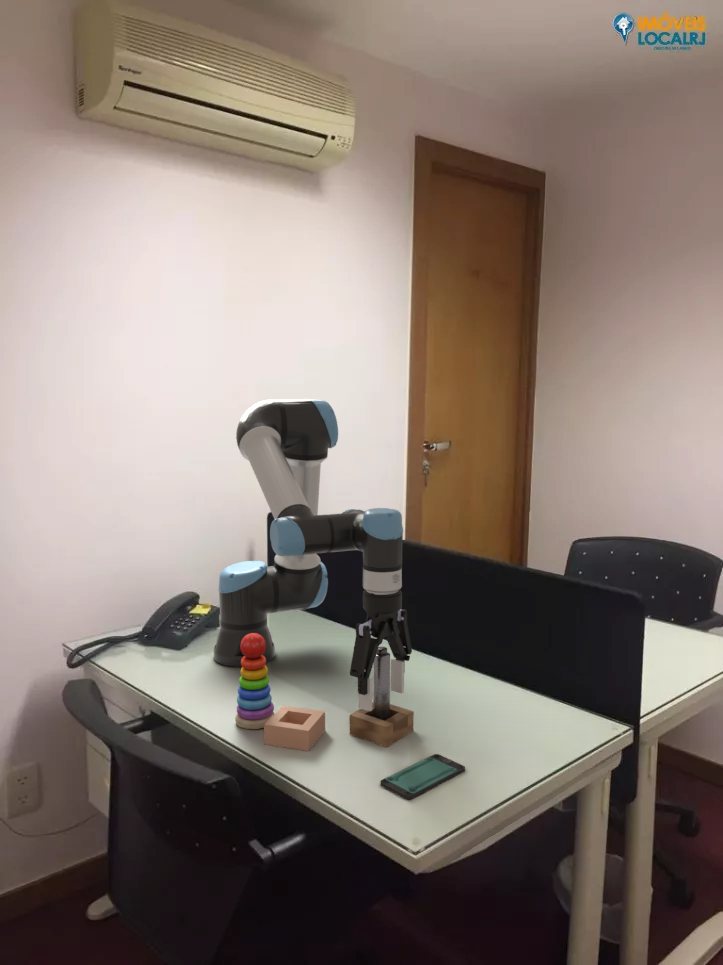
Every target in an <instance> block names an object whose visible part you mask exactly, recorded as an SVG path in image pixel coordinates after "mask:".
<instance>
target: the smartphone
mask: <svg viewBox="0 0 723 965" xmlns="http://www.w3.org/2000/svg"><path fill="white" fill-rule="evenodd" d="M465 771H466V766H465V765H464V764H461V763H458V762H457V761H454V760H453V759H450V758H447V757H446V756H443V755H441V754H438V753H435V754H432V755H430V756H427V757H426V758H424V759H421V760H420V761H417V762H415V763H414V764H411V765H409V766H407V767H405V768H403V769H401V770H399V771H397V772H395V773H393V774H391V775H389V776H387V777H385V778H383V779H381V780H380V781H379V782H380V783H379V784H380V787H381V788H383V789H385V790H387V791H389V792H391V793H392V794H395V795H397V796H398V797H400V798H401V799H404V800H406V801H413V800H414V799H417V798H418V797H420V796H422V795H423V794H426V793H427V792H430V791H431V790H433V789H435V788H437V787H438V786H440V785H442V784H445V783H447V781H450V780H452V779H453V778H456V777H457V776H459V775H461V774H463V773H465Z"/></svg>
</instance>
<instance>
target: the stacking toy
mask: <svg viewBox="0 0 723 965" xmlns="http://www.w3.org/2000/svg"><path fill="white" fill-rule="evenodd" d="M240 648H241V652H242V653H243V655H244V657H243V658H242V660H241V665H242V667H241V669H240V677H239V680H238V683H239V686H238V688H237V693H238V695H237V698H236V703H237V706H236V712H237V713H236V714H235V718H234V719H235V720H234V721H235V723H236V724H237V726H239V727H240V728H243V729H247V730H259V729H264V724H265V723H266V722H267V721H268V720H269V719H270V718H271V717H272V716H273V715H274V714H275V712H274V710H275V705H274V702H272V701H273V696H272V694H271V690H272V689H271V686H270V684H269V683H270V677H269V675H268V674H269V668H268V667H267V664H266V663H267V662H266V658H265V657H264V656H263V655H262V654H263V653H264V652H265V649H266V642H265V640H264V638H263V637H262V636H261V635H259V634H257V633H250V634H248V635H246V636H245V637H244V638H243V639H242V641H241V644H240Z"/></svg>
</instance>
